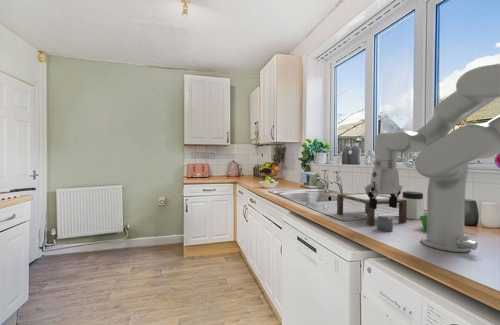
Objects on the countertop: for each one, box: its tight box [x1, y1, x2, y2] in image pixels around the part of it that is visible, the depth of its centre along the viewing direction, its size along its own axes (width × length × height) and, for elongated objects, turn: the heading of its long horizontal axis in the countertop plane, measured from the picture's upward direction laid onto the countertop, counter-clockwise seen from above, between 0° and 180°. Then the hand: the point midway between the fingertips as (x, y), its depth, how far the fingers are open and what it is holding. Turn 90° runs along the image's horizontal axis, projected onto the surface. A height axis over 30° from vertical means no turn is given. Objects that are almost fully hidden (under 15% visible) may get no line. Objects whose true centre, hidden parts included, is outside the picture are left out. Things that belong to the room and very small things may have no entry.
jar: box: [401, 190, 425, 221], centre depth 117 cm, size 9×8×12 cm
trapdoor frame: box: [336, 192, 407, 227], centre depth 115 cm, size 22×19×10 cm
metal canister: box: [377, 215, 394, 233], centre depth 97 cm, size 5×5×5 cm
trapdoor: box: [346, 193, 389, 201], centre depth 115 cm, size 17×14×2 cm
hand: (382, 207), depth 97 cm, fingers open, 9 cm apart
